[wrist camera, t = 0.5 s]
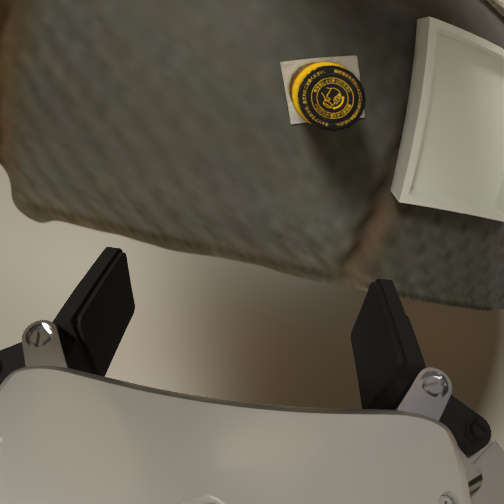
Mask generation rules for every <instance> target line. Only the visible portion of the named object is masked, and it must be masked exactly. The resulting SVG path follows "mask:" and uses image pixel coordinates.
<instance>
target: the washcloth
mask: <svg viewBox="0 0 504 504" xmlns="http://www.w3.org/2000/svg"><path fill="white" fill-rule="evenodd" d="M486 1H488V2H489V3H490V4H491V5H492V6H493V7H494V8H495V9H496V10H497V11H498V12H499V13H500V14H501V15H502V16H503V17H504V0H486Z"/></svg>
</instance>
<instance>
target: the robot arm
mask: <svg viewBox="0 0 504 504" xmlns="http://www.w3.org/2000/svg"><path fill="white" fill-rule="evenodd" d="M134 310H135V304H134V298H133V293H132V288H131V283H130V276H129V270H128V264H127V257H126V254H125V253H123V252H122V250H121V249H120V248H112V247H106V249H105V250H104V251H103V252H102V253H101V255H100V256H99V257H98V259H97V260H96V261H95V263H94V264H93V265H92V267H91V268H90V269H89V271H88V272H87V274H86V275H85V276H84V278H83V279H82V280H81V281H80V283H79V284H78V286H77V287H76V288H75V290H74V291H73V293H72V294H71V295H70V297H69V298H68V300H67V301H66V303H65V304H64V306H63V307H62V309H61V310H60V312H59V313H58V315H57V316H56V318H55V319H54V321H53V322H50V321H47V320H40V321H36V322H34V323H32V324H30V325H29V326H28V327H27V328H26V329H25V331H24V333H23V335H22V342H21V343H18V344H16V345H13V346H11V347H8V348H6V349H3V350H1V351H0V504H504V451H503V450H502V448H501V447H500V446H499V444H498V443H497V442H496V441H494V442H492V441H491V440H490V438H491V429H490V426H489V424H488V423H487V421H486V420H485V419H484V418H482V417H481V416H480V415H478V414H477V413H476V412H474V411H473V410H472V409H470V408H468V407H467V406H466V405H464V404H463V403H462V402H460V401H459V400H458V399H456V398H455V397H453V396H452V395H451V392H452V384H451V382H450V379H449V378H448V376H447V375H446V374H445V373H444V372H442V371H441V370H439V369H436V368H431V367H430V368H426V366H425V363H424V360H423V357H422V354H421V351H420V348H419V345H418V342H417V339H416V336H415V334H414V331H413V328H412V325H411V323H410V320H409V318H408V316H406V314H405V312H404V309H403V306H402V304H401V301H400V299H399V296H398V294H397V291H396V289H395V286H394V284H393V282H392V280H386V279H377V280H376V281H375V282H372V283H371V285H370V287H369V290H368V292H367V295H366V298H365V300H364V303H363V305H362V308H361V310H360V313H359V315H358V317H357V320H356V323H355V325H354V327H353V330H352V333H351V342H352V348H353V353H354V358H355V365H356V371H357V377H358V383H359V390H360V396H361V403H362V409H331V408H328V409H327V408H305V407H289V406H277V405H265V404H255V403H246V402H245V403H244V402H237V401H229V400H222V399H221V400H220V399H214V398H208V397H201V396H195V395H189V394H183V393H177V392H172V391H166V390H161V389H156V388H151V387H147V386H142V385H137V384H133V383H129V382H124V381H120V380H116V379H111V378H107V377H104V376H105V375H106V372H107V370H108V368H109V365H110V363H111V361H112V359H113V356H114V354H115V352H116V350H117V348H118V345H119V343H120V341H121V339H122V336H123V335H124V332H125V330H126V328H127V326H128V324H129V321H130V320H131V317H132V316H133V313H134Z"/></svg>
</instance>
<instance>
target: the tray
mask: <svg viewBox="0 0 504 504" xmlns="http://www.w3.org/2000/svg"><path fill="white" fill-rule="evenodd" d="M390 191H391V192H392V194H393V195H394V196H395V198H396V199H397V200H398V202H401V203H407V204H413V205H419V206H425V207H431V208H437V209H443V210H448V211H453V212H459V213H464V214H469V215H474V216H479V217H484V218H489V219H493V220H498V221H503V222H504V49H503V48H501V47H499V46H497V45H495V44H493V43H491V42H489V41H487V40H485V39H483V38H481V37H479V36H476V35H474V34H472V33H470V32H468V31H465V30H463V29H461V28H458V27H456V26H453V25H451V24H449V23H446V22H443V21H441V20H438V19H435V18H433V17H425V18H421V19H417V28H416V40H415V50H414V59H413V68H412V76H411V83H410V91H409V97H408V104H407V110H406V116H405V122H404V127H403V133H402V138H401V143H400V148H399V153H398V158H397V163H396V167H395V172H394V176H393V180H392V185H391V189H390Z"/></svg>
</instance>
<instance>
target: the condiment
mask: <svg viewBox="0 0 504 504" xmlns="http://www.w3.org/2000/svg"><path fill="white" fill-rule="evenodd" d="M280 64H281V69H282V75H283V80H284V86H285V91H286V97H287V103H288V109H289V115H290V121H291V124H298V123H306V122H308V123H309V124H311V125H313V126H316V127H318V128H321V129H324V130H331V131H336V130H343V129H345V128H349V127H350V126H352V125H353V124H354V123H355V122H356V121H357V120H358V119H359V118H365V115H364V108H365V103H366V102H365V100H366V98H365V92H364V88H363V86H362V84H361V82H360V75H359V68H358V60H357V56H337V57H323V58H312V59H302V60H293V61H285V62H280Z"/></svg>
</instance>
